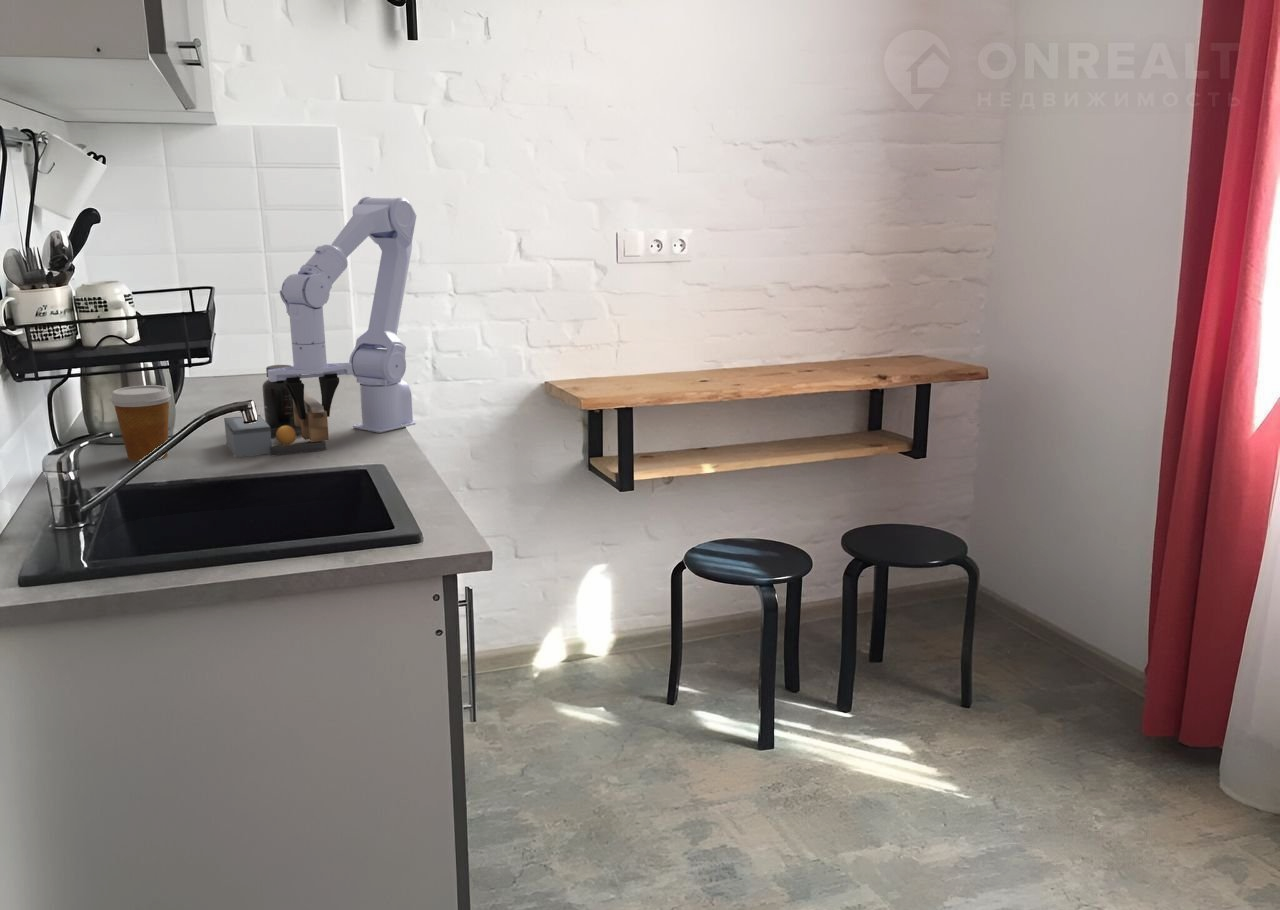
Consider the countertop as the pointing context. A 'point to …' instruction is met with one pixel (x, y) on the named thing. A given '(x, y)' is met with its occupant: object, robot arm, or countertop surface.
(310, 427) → the tan piece
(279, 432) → the ball
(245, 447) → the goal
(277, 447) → the rail frame
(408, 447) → the countertop surface
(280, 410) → the supplement bottle
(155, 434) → the disposable coffee cup
